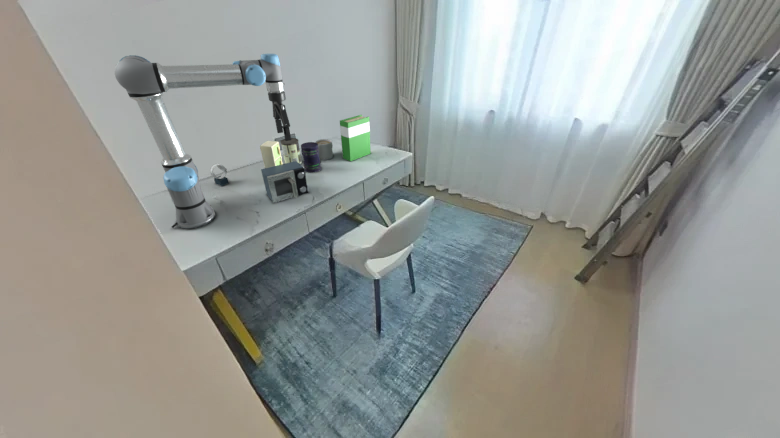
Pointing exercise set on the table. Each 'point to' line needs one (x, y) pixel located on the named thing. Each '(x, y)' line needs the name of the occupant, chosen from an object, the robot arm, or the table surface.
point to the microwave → (286, 167)
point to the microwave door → (282, 186)
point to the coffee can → (291, 150)
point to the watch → (221, 179)
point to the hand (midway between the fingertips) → (284, 136)
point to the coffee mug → (325, 149)
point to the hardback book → (355, 137)
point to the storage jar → (311, 157)
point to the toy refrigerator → (271, 154)
